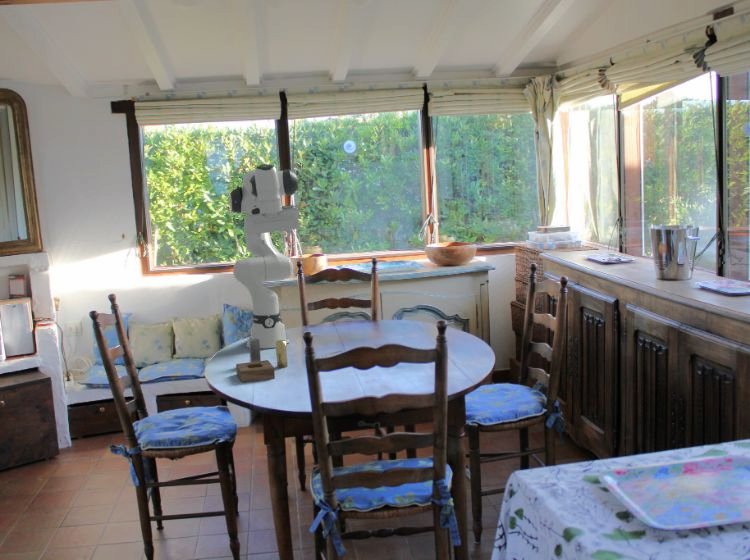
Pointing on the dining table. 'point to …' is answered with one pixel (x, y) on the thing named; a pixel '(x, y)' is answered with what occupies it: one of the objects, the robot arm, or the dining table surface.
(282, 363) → the round bit
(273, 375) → the bore block
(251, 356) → the square bit
